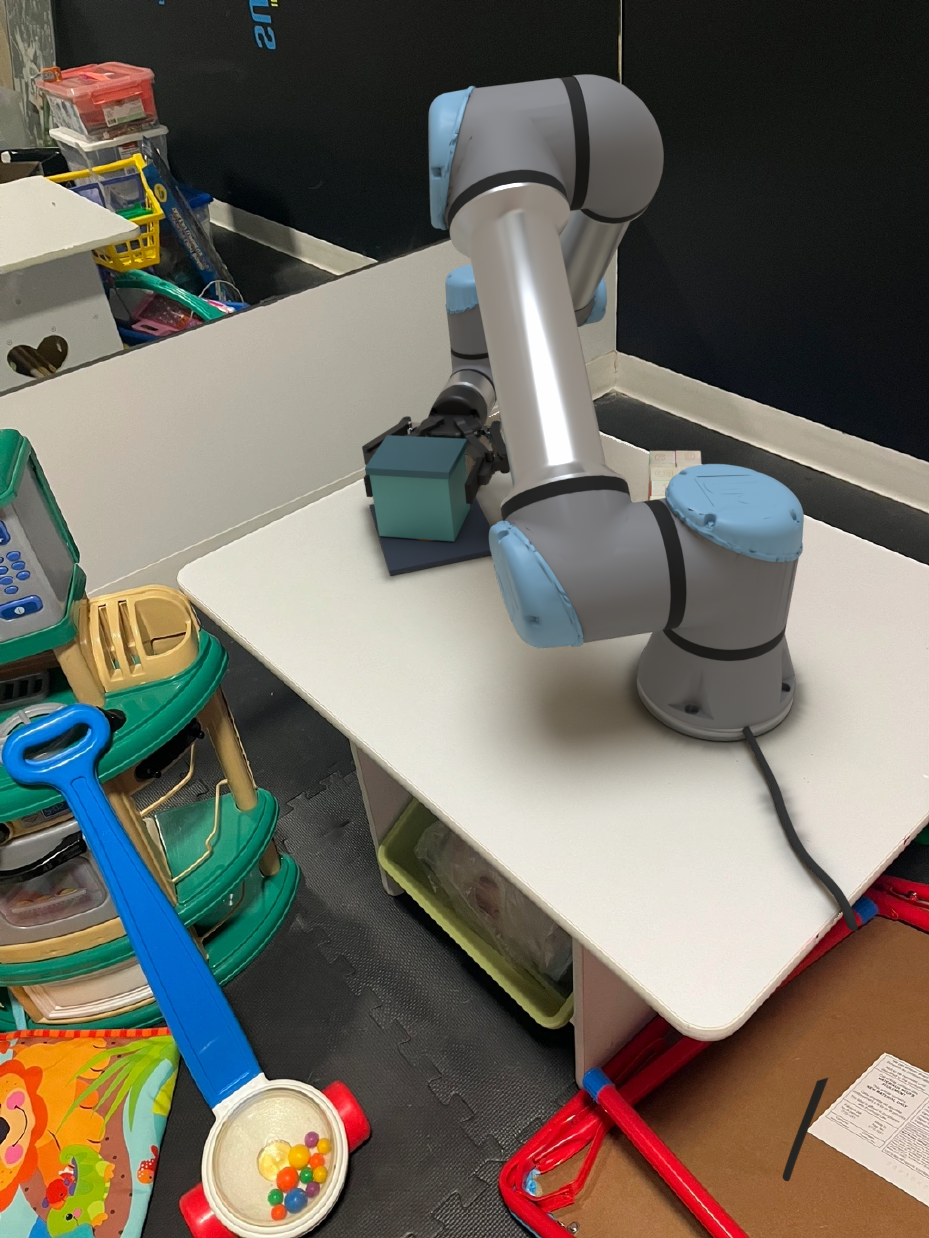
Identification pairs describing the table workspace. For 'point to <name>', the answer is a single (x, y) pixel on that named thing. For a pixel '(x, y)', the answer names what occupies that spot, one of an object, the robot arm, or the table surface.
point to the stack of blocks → (668, 469)
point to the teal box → (419, 487)
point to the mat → (437, 545)
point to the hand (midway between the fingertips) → (417, 491)
